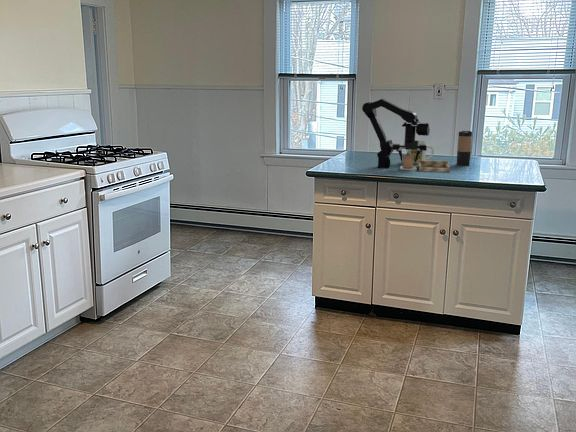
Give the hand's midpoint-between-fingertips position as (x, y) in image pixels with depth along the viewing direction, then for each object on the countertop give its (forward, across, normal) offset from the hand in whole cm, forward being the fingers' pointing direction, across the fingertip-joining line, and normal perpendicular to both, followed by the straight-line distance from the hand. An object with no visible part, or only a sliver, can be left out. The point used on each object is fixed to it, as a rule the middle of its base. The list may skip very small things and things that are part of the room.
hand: (408, 162), depth 322 cm
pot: (+3, 0, 0) cm, 3 cm away
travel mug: (+4, +32, +18) cm, 37 cm away
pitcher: (+4, +6, +21) cm, 22 cm away
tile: (+4, 0, 0) cm, 4 cm away
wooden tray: (+4, +14, 0) cm, 15 cm away
